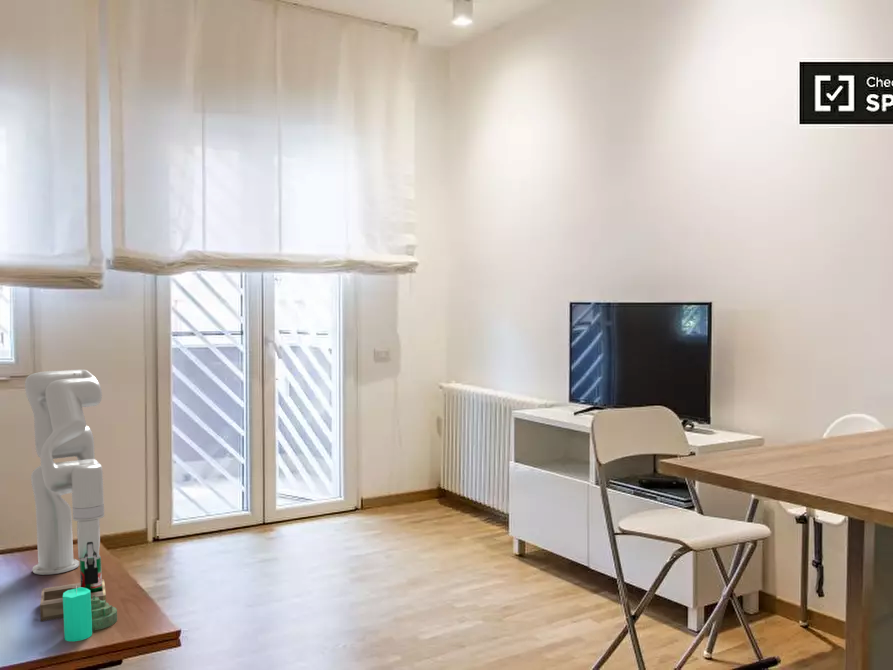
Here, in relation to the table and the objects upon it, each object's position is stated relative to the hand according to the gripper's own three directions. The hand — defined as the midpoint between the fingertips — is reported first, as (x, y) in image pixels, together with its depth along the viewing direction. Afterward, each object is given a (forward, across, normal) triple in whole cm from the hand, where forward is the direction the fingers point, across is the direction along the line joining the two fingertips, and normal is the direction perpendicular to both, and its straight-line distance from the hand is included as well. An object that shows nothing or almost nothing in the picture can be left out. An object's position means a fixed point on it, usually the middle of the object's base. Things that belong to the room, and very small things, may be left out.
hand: (91, 578), depth 211 cm
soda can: (+6, 0, 0) cm, 6 cm away
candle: (+7, +22, -3) cm, 23 cm away
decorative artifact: (+7, +15, 0) cm, 16 cm away
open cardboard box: (+7, 0, -4) cm, 8 cm away
